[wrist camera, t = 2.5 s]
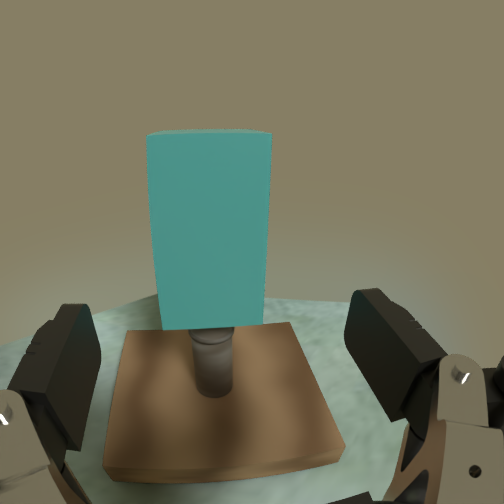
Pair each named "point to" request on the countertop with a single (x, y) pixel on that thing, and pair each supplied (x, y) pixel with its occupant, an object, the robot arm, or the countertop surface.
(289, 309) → the countertop surface
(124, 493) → the countertop surface
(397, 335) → the robot arm
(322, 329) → the countertop surface
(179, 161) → the tall teal pillar
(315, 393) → the post stand
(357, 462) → the countertop surface
